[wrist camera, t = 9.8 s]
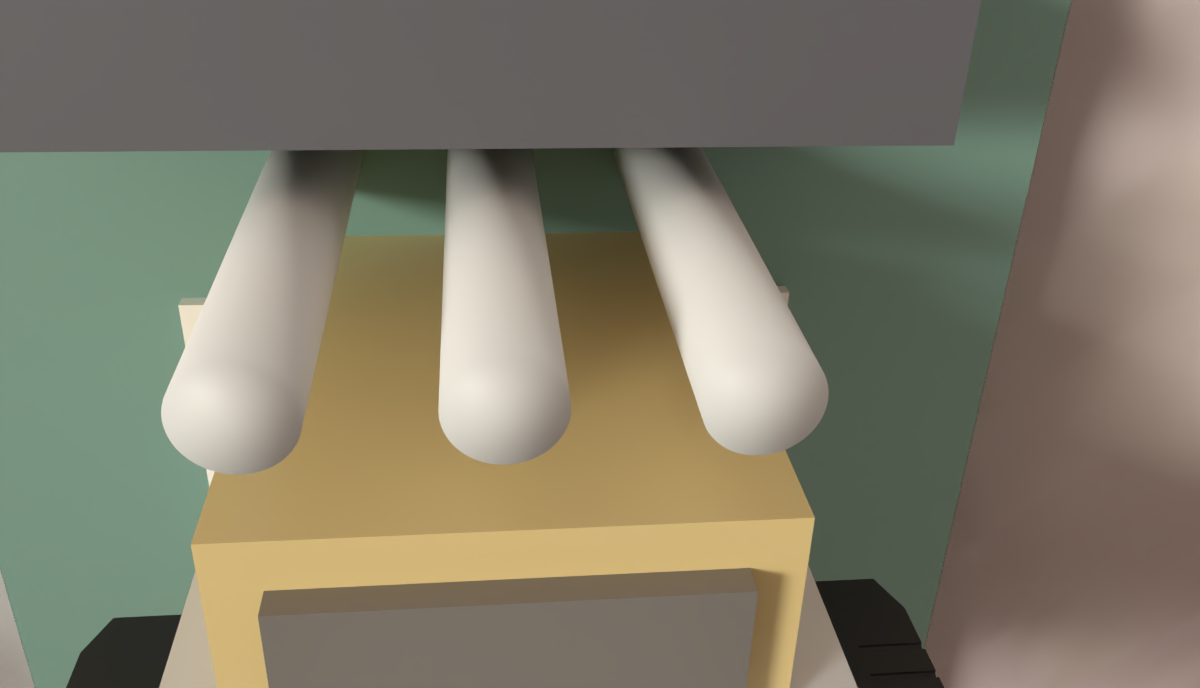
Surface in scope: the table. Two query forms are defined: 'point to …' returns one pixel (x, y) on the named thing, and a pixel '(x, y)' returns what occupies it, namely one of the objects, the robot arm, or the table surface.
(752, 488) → the plug block
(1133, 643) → the table surface
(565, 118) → the board
